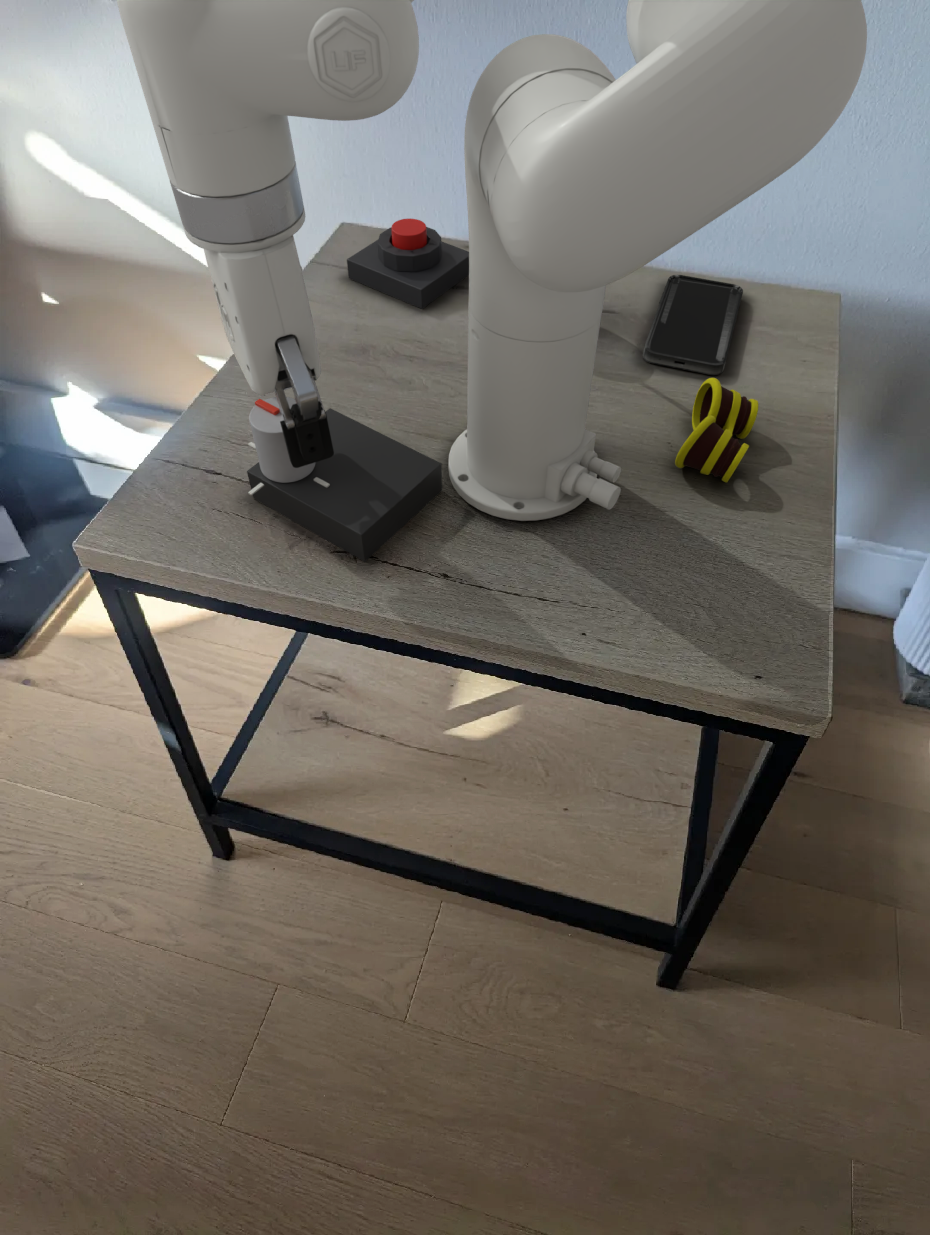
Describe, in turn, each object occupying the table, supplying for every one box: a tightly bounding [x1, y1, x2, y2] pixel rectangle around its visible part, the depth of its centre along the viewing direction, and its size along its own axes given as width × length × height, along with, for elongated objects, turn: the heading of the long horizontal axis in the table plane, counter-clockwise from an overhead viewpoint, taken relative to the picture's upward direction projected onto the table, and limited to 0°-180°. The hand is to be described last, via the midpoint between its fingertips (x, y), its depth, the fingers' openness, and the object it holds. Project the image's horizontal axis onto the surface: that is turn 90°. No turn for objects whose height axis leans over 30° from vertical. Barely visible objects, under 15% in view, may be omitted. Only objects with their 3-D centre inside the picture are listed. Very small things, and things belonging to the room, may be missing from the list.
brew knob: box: [248, 396, 316, 483], centre depth 67 cm, size 4×4×5 cm
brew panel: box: [246, 407, 443, 563], centre depth 70 cm, size 14×12×3 cm
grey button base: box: [346, 226, 469, 310], centre depth 92 cm, size 10×9×4 cm
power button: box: [390, 218, 427, 250], centre depth 90 cm, size 4×4×2 cm
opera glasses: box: [674, 377, 760, 483], centre depth 74 cm, size 10×5×5 cm, turn 160°
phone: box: [642, 274, 744, 376], centre depth 87 cm, size 8×1×15 cm
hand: (293, 422), depth 66 cm, fingers open, 9 cm apart
